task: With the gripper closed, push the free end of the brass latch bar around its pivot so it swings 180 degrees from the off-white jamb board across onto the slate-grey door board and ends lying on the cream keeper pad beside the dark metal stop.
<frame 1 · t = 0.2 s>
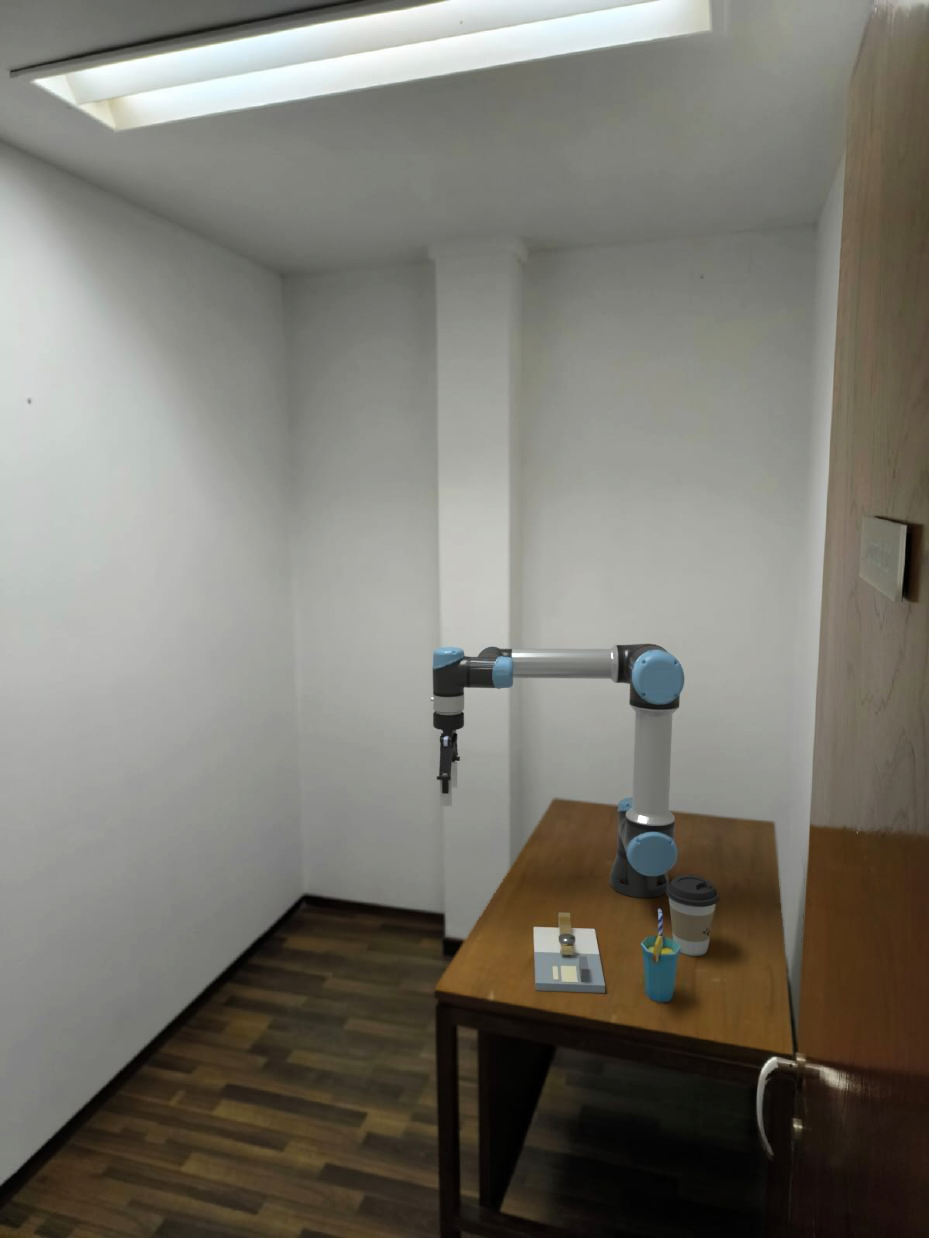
hand: (448, 796, 199), 28 cm above the table, fingers open, 13 cm apart
cup: (659, 993, 164), on the table
door fixture: (566, 959, 176), on the table
latch bar: (565, 932, 180), point 4 cm above the table, hinge at 0.0°
coffee cup: (690, 948, 182), on the table
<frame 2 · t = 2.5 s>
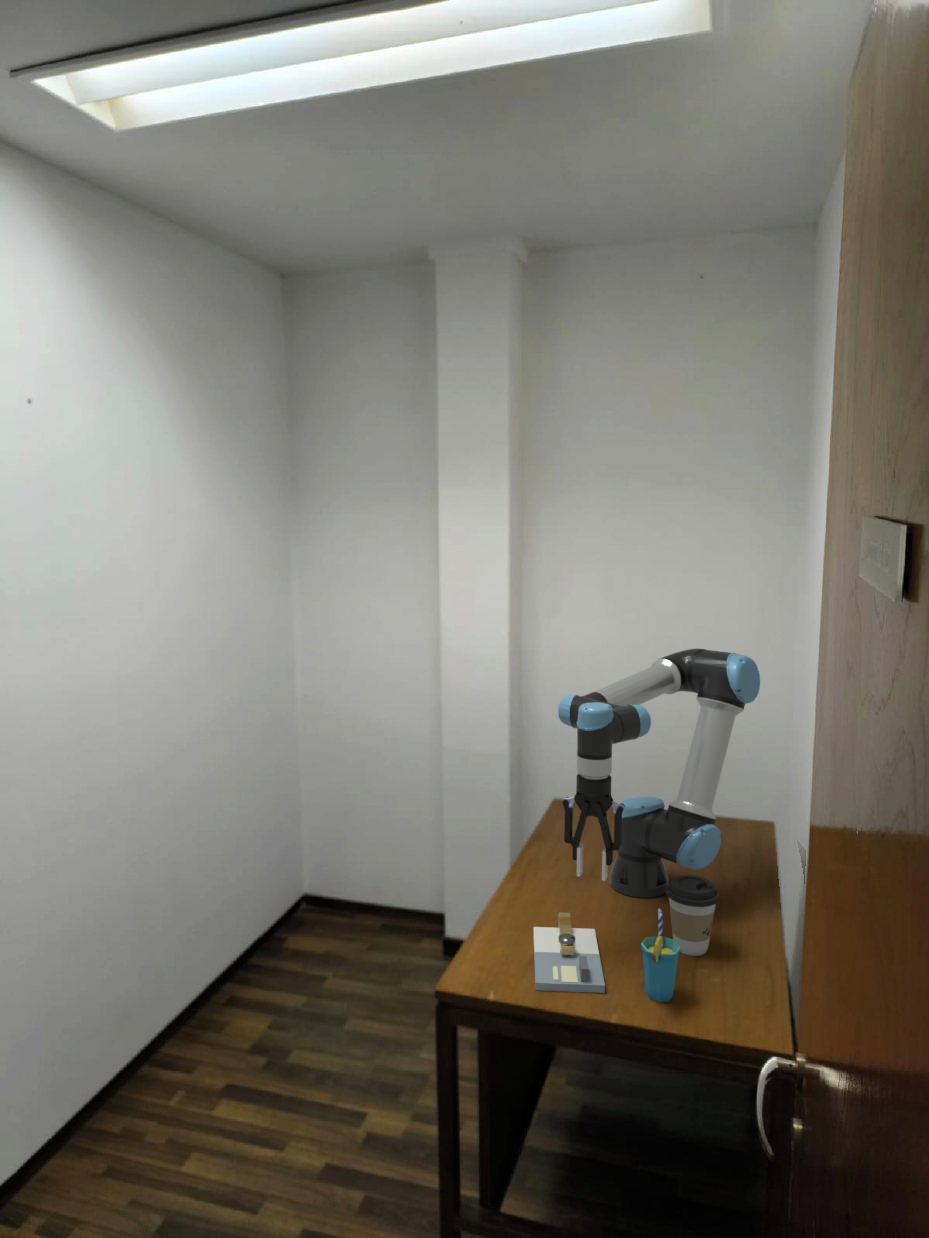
hand: (592, 875, 180), 17 cm above the table, fingers open, 5 cm apart
nothing on the table moved.
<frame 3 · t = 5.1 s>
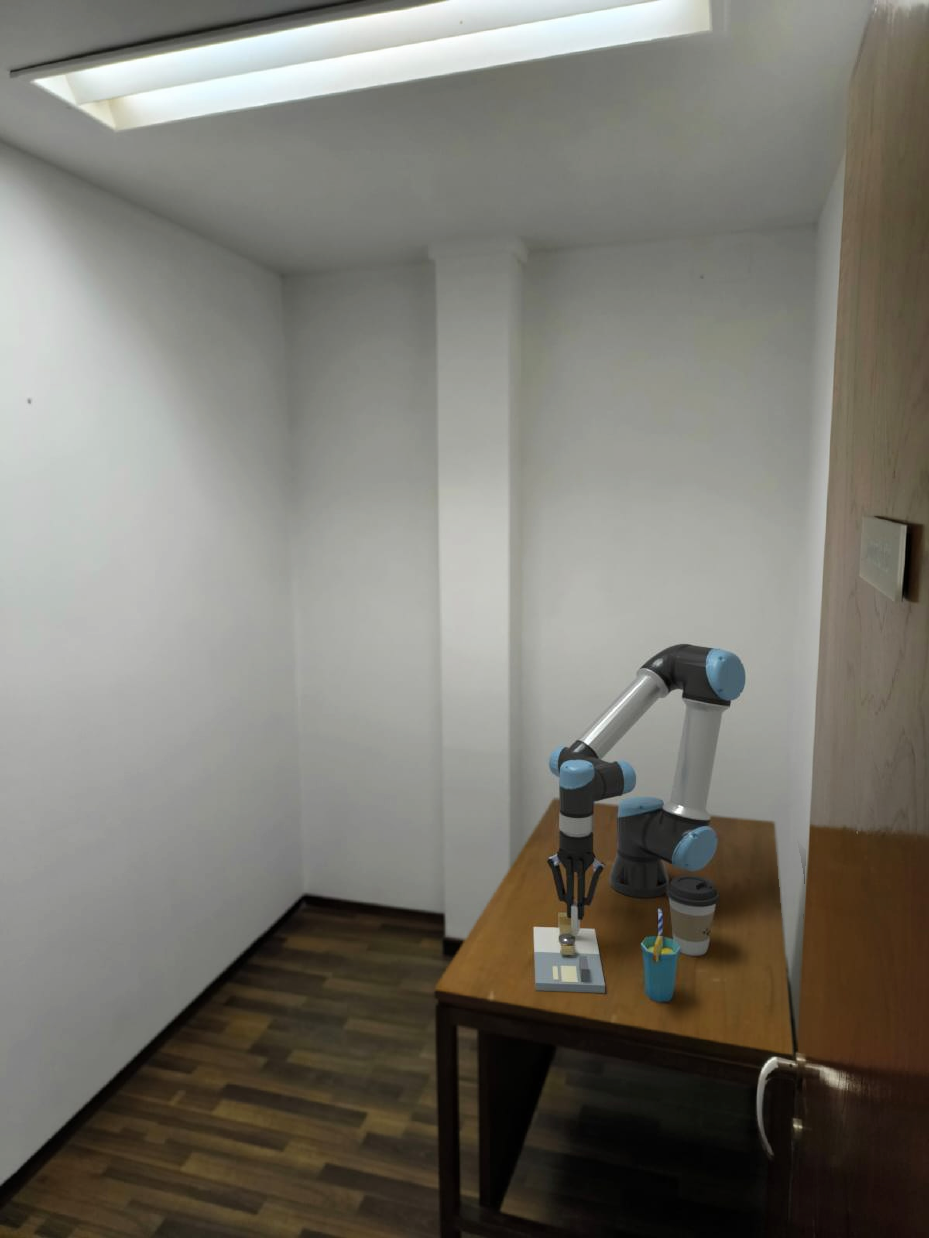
hand: (575, 931, 183), 3 cm above the table, fingers closed
latch bar: (565, 932, 180), point 4 cm above the table, hinge at 0.1°, touching gripper
everything else where it was.
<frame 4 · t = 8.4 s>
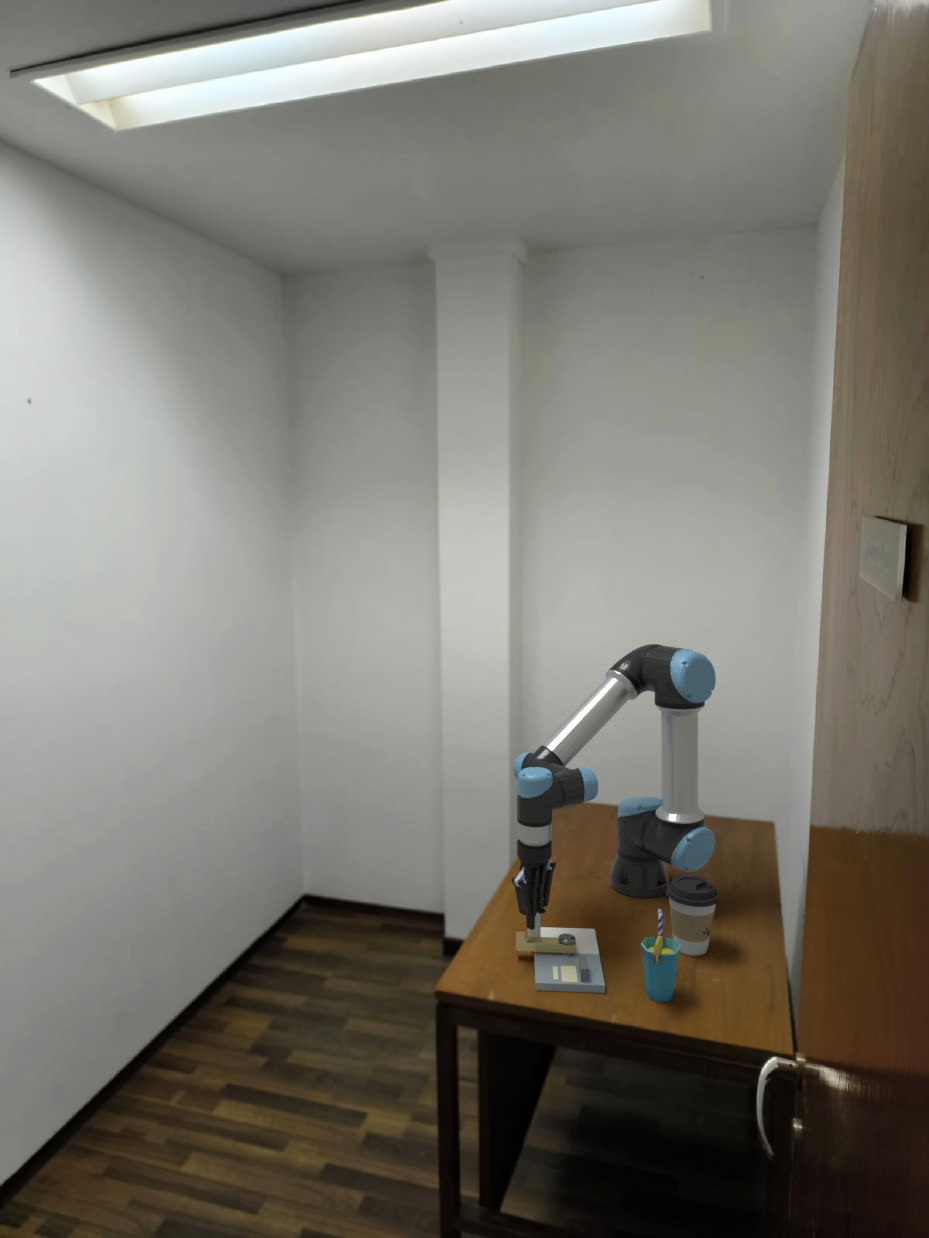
hand: (533, 940, 179), 3 cm above the table, fingers closed
latch bar: (546, 942, 176), point 4 cm above the table, hinge at 88.5°, touching gripper
everything else where it was.
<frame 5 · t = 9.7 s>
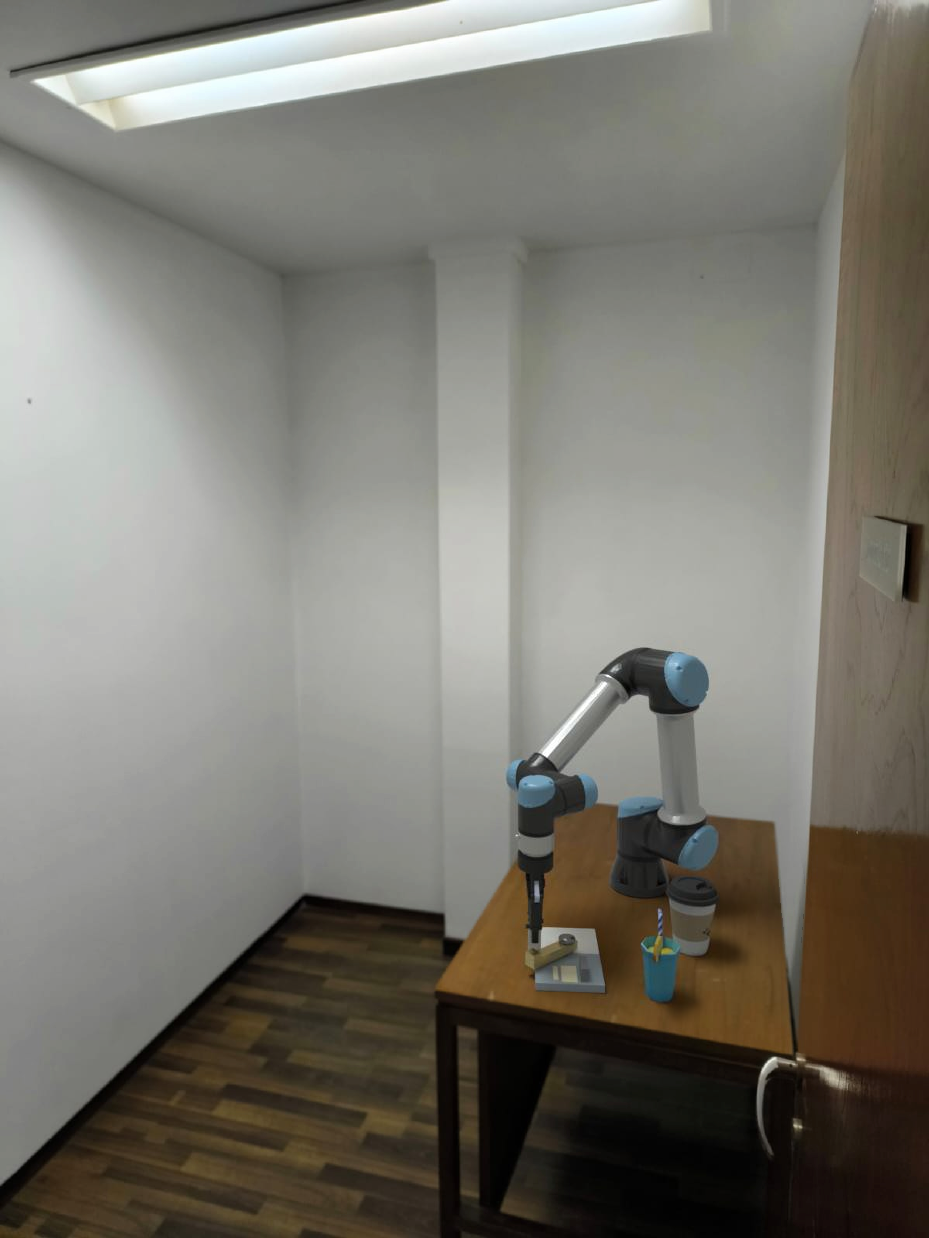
hand: (534, 953, 174), 3 cm above the table, fingers closed
latch bar: (552, 950, 173), point 4 cm above the table, hinge at 132.3°, touching gripper
everything else where it was.
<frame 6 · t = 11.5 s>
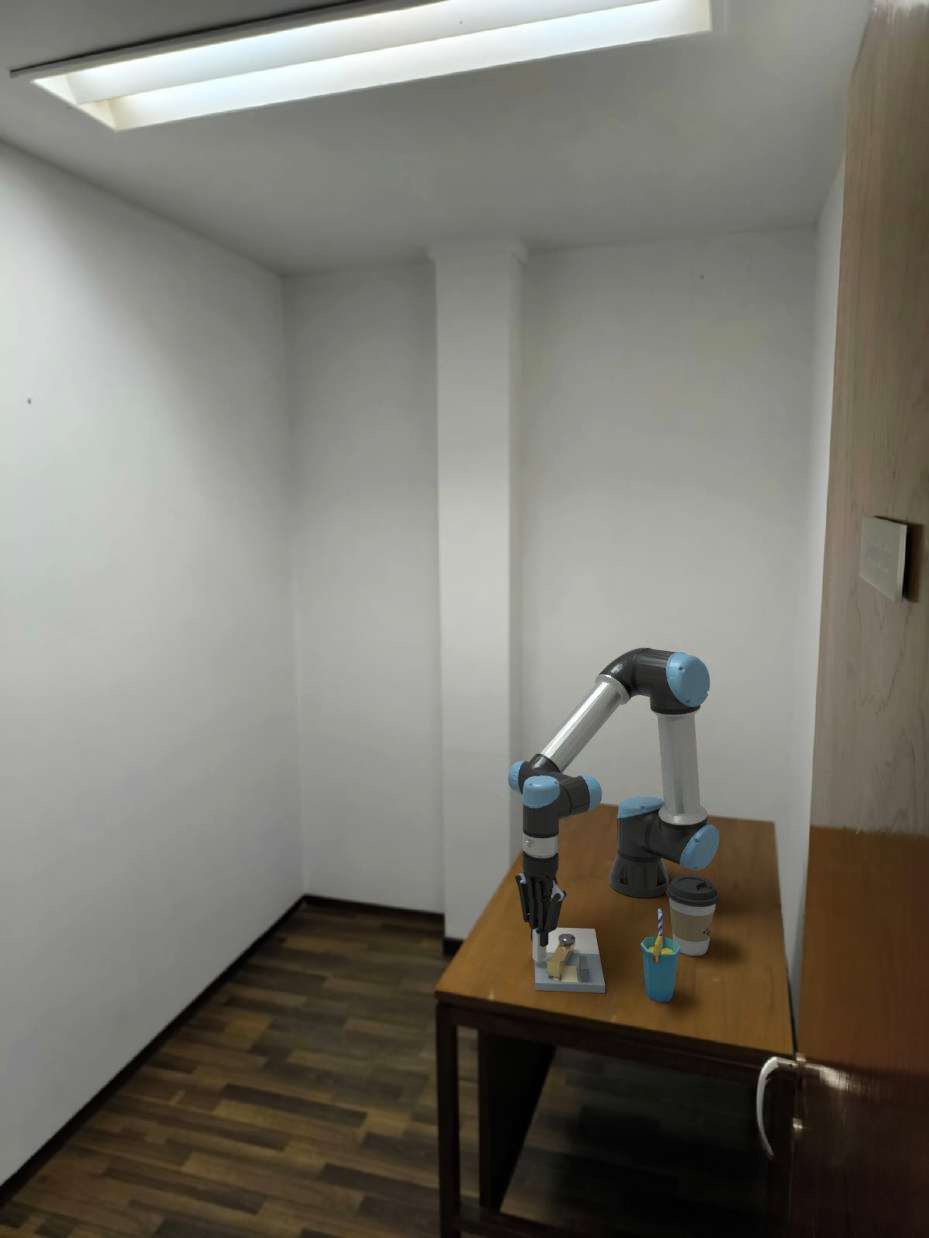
hand: (539, 957, 172), 3 cm above the table, fingers closed
latch bar: (561, 953, 172), point 4 cm above the table, hinge at 162.0°
everything else where it was.
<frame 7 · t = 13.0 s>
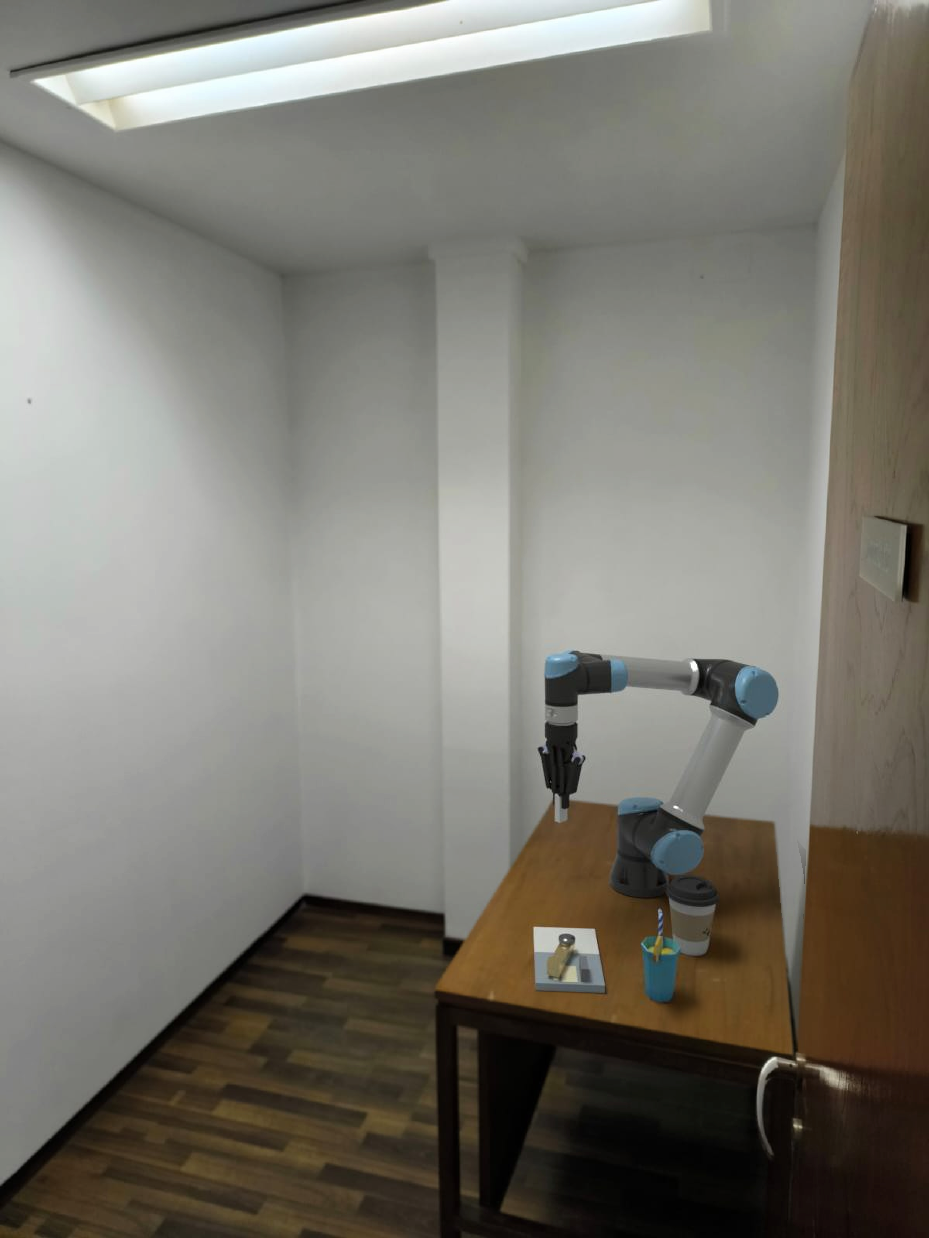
hand: (561, 820, 189), 26 cm above the table, fingers closed
nothing on the table moved.
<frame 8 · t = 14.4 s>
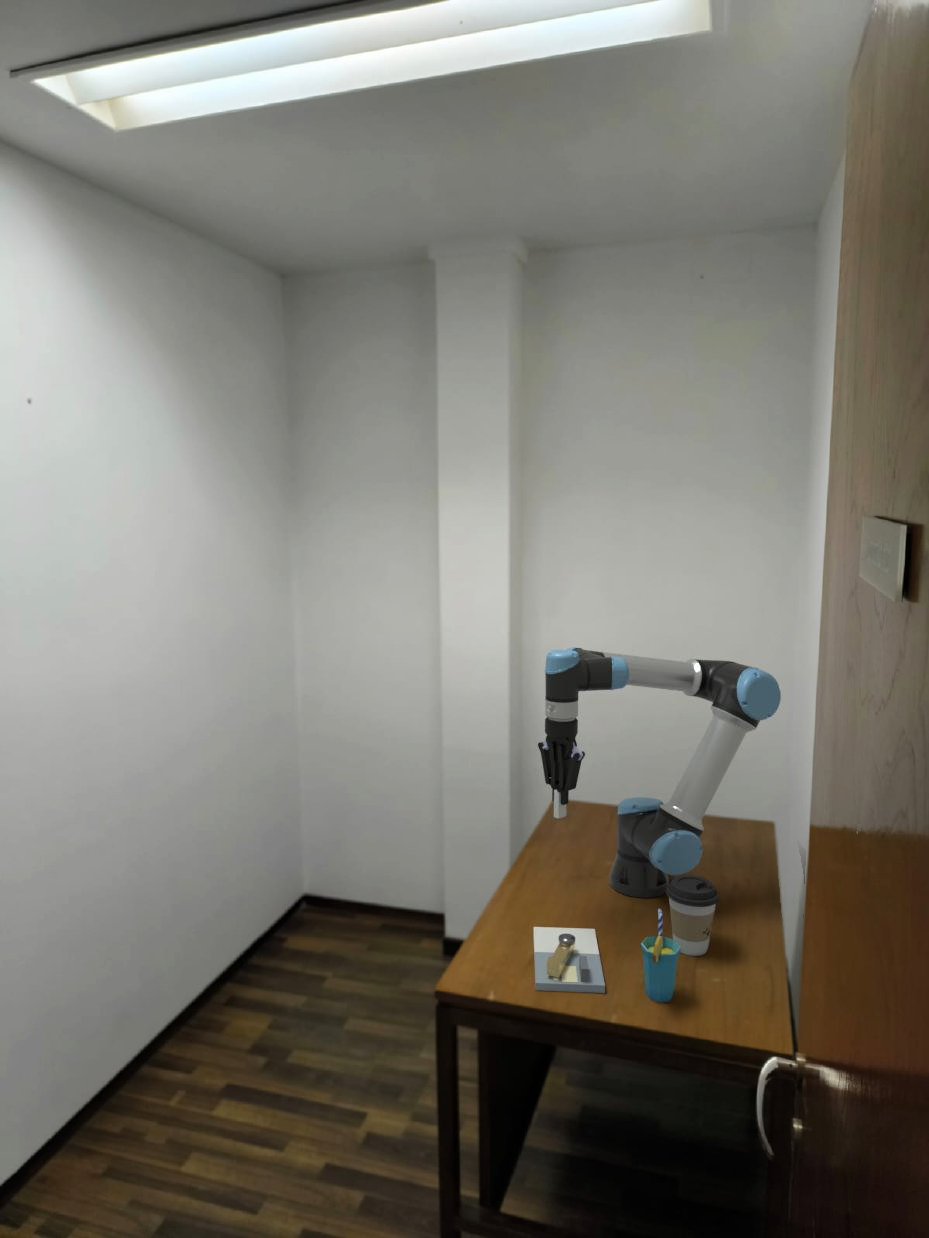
hand: (560, 816, 189), 26 cm above the table, fingers closed
nothing on the table moved.
at the end: latch bar at +162° (first picture: +0°) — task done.
